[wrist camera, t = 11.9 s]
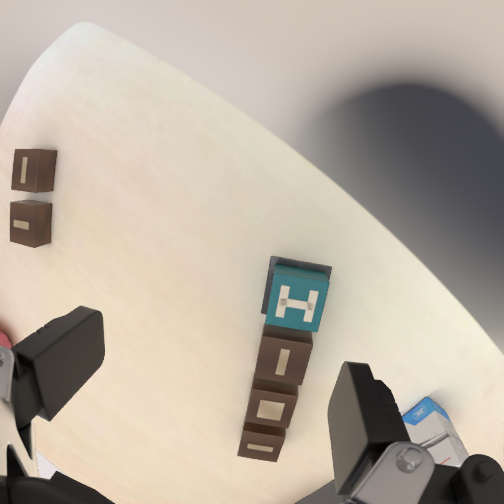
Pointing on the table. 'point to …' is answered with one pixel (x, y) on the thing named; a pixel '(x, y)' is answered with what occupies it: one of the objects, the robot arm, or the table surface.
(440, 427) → the ink box
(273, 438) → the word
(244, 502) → the table surface
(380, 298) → the table surface
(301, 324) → the teal letter h block
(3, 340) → the apple
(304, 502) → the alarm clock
